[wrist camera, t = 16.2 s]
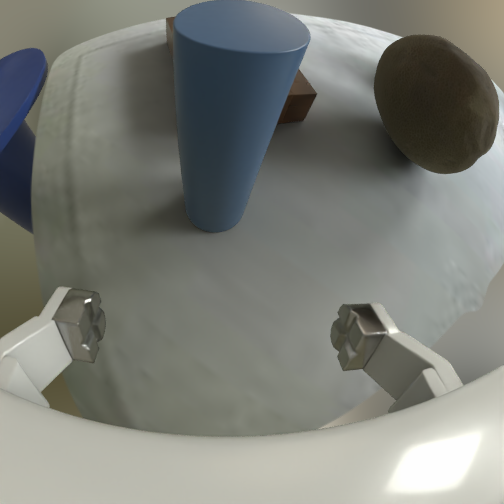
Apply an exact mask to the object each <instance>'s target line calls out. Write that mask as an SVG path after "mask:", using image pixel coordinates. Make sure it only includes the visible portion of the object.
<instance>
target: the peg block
mask: <svg viewBox="0 0 504 504" xmlns="http://www.w3.org/2000/svg"><path fill="white" fill-rule="evenodd" d="M174 19H175V17H170V18H166V38H167V45H168V47H169V50H170V53H171V56H172V59H173V21H174ZM316 95H317V93H316V92H315V90H314V89H313V87H312V86H311V85H310V83H309V82H308V81H307V79H306V78H305V77H304V75H303V74H302V73H301V71H300V70H299V69H298V71H297V74H296V76H295V79H294V81H293V84H292V86H291V89H290V91H289V94H288V96H287V99H286V101H285V104H284V106H283V109H282V111H281V114H280V117H279V119H278V122H277V124H280V123H289V122H297V121H304V119H305V117H306V115H307V113H308V111H309V109H310V107H311V105H312V103H313V101H314V99H315V97H316Z"/></svg>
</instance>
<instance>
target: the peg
mask: <svg viewBox="0 0 504 504" xmlns="http://www.w3.org/2000/svg"><path fill="white" fill-rule="evenodd" d="M309 42H310V32H309V30H308V28H307V27H306V26H305V25H304V24H303V23H302V22H301V21H300V20H299V19H297V18H296V17H294V16H293V15H291V14H289V13H287V12H285V11H282V10H280V9H278V8H275V7H272V6H269V5H266V4H262V3H257V2H252V1H245V0H214V1H207V2H202V3H199V4H195V5H192V6H190V7H188V8H186V9H184V10H182V11H181V12H180V13H178V14H177V16H176V17H175V19H174V21H173V65H174V88H175V106H176V120H177V133H178V144H179V155H180V165H181V174H182V183H183V191H184V199H185V207H186V212H187V215H188V217H189V219H190V220H191V222H192V223H193V224H194V225H195V226H197V227H198V228H200V229H202V230H204V231H208V232H222V231H226V230H228V229H230V228H232V227H233V226H235V225H236V224H237V223H238V222H239V220H240V219H241V217H242V215H243V212H244V210H245V207H246V204H247V201H248V199H249V196H250V193H251V190H252V188H253V185H254V182H255V180H256V177H257V174H258V172H259V169H260V166H261V164H262V161H263V158H264V156H265V153H266V150H267V148H268V145H269V142H270V140H271V137H272V135H273V132H274V129H275V127H276V124H277V122H278V119H279V117H280V114H281V111H282V109H283V106H284V104H285V101H286V99H287V96H288V94H289V91H290V89H291V86H292V84H293V81H294V79H295V76H296V74H297V71H298V69H299V66H300V64H301V61H302V59H303V56H304V54H305V52H306V49H307V47H308V44H309Z"/></svg>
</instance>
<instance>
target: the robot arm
mask: <svg viewBox="0 0 504 504" xmlns="http://www.w3.org/2000/svg"><path fill="white" fill-rule="evenodd" d="M100 304H101V298H100V295H99V293H98V292H95V291H89V290H82V289H76V288H68V287H62V286H60V287H58V288H57V289H56V291H55V292H54V294H53V295H52V297H51V298H50V300H49V301H48V303H47V304H46V306H45V308H44V309H43V311H42V312H41V314H40V316H39V317H36V316H35V317H33V318H32V319H30V320H29V321H27V322H25V323H24V324H22V325H21V326H19V327H18V328H16V329H14V330H13V331H11V332H9V333H8V334H6V335H5V336H3V337H2V338H0V504H504V365H502V366H500V367H499V368H497V369H495V370H493V371H491V372H489V373H488V374H486V375H484V376H482V377H480V378H478V379H476V380H474V381H472V382H470V383H468V384H466V385H463V384H462V382H461V380H460V379H459V377H458V375H457V374H456V372H455V371H454V369H453V367H452V366H451V365H450V363H449V362H448V361H447V360H446V359H444V358H443V357H441V356H439V355H438V354H436V353H435V352H434V351H432V350H430V349H429V348H427V347H426V346H424V345H423V344H421V343H420V342H418V341H417V340H415V339H413V338H412V337H410V336H409V335H407V334H406V333H404V332H400V331H399V330H398V328H397V327H396V325H395V324H394V322H393V321H392V319H391V318H390V316H389V315H388V313H387V312H386V310H385V309H384V307H383V306H382V304H380V303H367V304H343V305H342V306H341V307H340V308H339V311H338V315H339V318H338V319H337V320H336V321H334V322H333V325H332V328H331V335H330V337H331V342H332V345H333V347H334V348H335V349H336V350H338V351H339V353H338V356H337V357H338V360H339V362H340V365H341V367H342V370H343V371H347V370H357V369H363V370H364V371H365V372H366V373H367V374H368V375H369V376H370V377H371V378H372V379H374V380H375V381H376V382H377V383H378V384H379V385H380V386H381V387H382V388H383V389H384V390H385V391H386V392H388V393H389V394H390V395H391V396H392V397H393V398H394V399H395V400H396V402H395V403H394V404H393V405H392V406H391V407H390V408H389V410H388V413H389V414H386V415H382V416H378V417H375V418H371V419H367V420H363V421H359V422H354V423H349V424H345V425H340V426H335V427H329V428H323V429H317V430H310V431H303V432H295V433H286V434H275V435H260V436H192V435H178V434H167V433H158V432H150V431H143V430H136V429H130V428H124V427H119V426H114V425H109V424H105V423H100V422H96V421H92V420H88V419H84V418H80V417H76V416H72V415H70V414H66V413H63V412H59V411H57V410H54V409H51V408H49V403H48V401H47V400H46V399H45V398H44V397H43V395H42V394H41V393H40V392H41V391H42V390H43V389H44V388H45V387H46V386H47V385H48V384H49V383H50V382H51V381H52V380H53V379H54V378H55V377H56V376H58V374H60V373H61V372H62V371H63V370H64V369H65V368H66V367H67V366H68V365H69V364H70V363H71V362H72V361H73V360H77V361H83V362H89V363H94V362H95V359H96V357H97V354H98V351H99V346H98V343H97V342H99V341H100V340H102V339H103V337H104V334H105V329H106V317H105V313H104V311H103V310H102V309H101V308H100V307H99V306H100Z"/></svg>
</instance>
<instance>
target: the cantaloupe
mask: <svg viewBox="0 0 504 504" xmlns="http://www.w3.org/2000/svg"><path fill="white" fill-rule="evenodd" d="M374 94H375V99H376V104H377V108H378V110H379V113H380V116H381V119H382V121H383V124H384V126H385V128H386V130H387V132H388V134H389V136H390V137H391V139H392V140H393V142H394V143H395V144H396V146H397V147H398V148H399V149H400V151H401V152H402V153H403V154H404V155H405V156H406V157H408V158H409V159H410V160H411V161H412V162H414V163H415V164H417V165H419V166H421V167H422V168H424V169H426V170H428V171H431V172H435V173H440V174H451V173H457V172H461V171H464V170H466V169H468V168H469V167H471V166H472V165H473V164H474V163H475V162H476V161H477V159H478V158H480V157H481V156H482V155H484V154H486V153H487V152H488V151H489V149H490V148H491V147H492V145H493V143H494V140H495V136H496V131H497V125H498V121H499V100H498V95H497V92H496V89H495V87H494V84H493V82H492V81H491V79H490V77H489V76H488V74H487V72H486V71H485V70H484V69H483V68H482V67H481V66H480V65H478V64H477V63H476V62H475V61H474V60H473V59H471V58H470V57H469V56H468V55H467V54H466V53H464V52H463V51H462V50H461V49H459V48H458V47H456V46H455V45H454V44H453V43H451V42H450V41H448V40H446V39H444V38H442V37H440V36H434V35H411V36H406V37H404V38H401V39H399V40H397V41H395V42H394V43H392V44H391V45H389V46H388V47H387V48H386V50H385V51H384V52H383V54H382V56H381V58H380V60H379V63H378V66H377V70H376V74H375V80H374Z"/></svg>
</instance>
